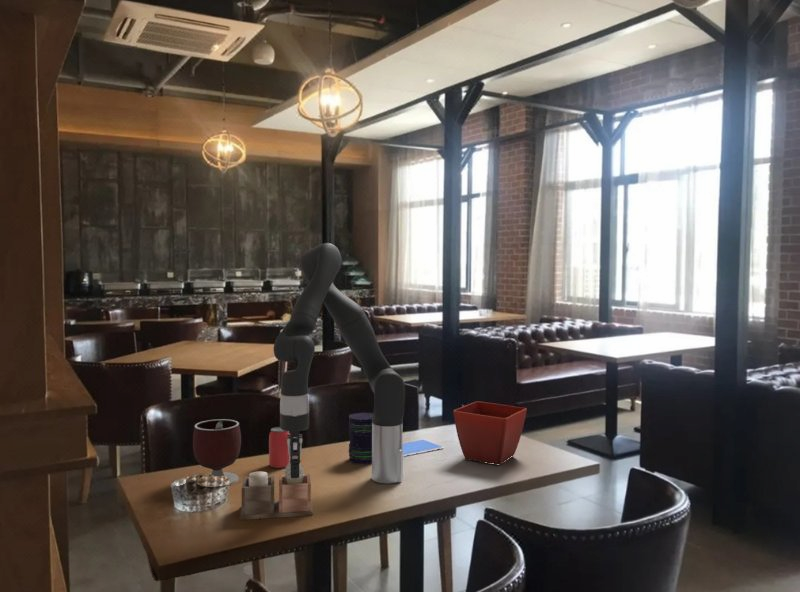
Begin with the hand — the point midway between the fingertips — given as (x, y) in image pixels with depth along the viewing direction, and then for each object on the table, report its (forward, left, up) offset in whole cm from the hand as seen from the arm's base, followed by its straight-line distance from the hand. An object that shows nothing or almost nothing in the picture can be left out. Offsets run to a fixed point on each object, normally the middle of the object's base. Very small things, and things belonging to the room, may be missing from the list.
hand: (294, 473), depth 171 cm
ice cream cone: (0, 0, -9) cm, 9 cm away
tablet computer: (-26, -60, -10) cm, 67 cm away
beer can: (+15, -36, -10) cm, 40 cm away
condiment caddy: (+5, +1, -10) cm, 11 cm away
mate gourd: (+29, -19, -10) cm, 36 cm away
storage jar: (-11, -45, -10) cm, 48 cm away
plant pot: (-53, -52, -10) cm, 75 cm away
